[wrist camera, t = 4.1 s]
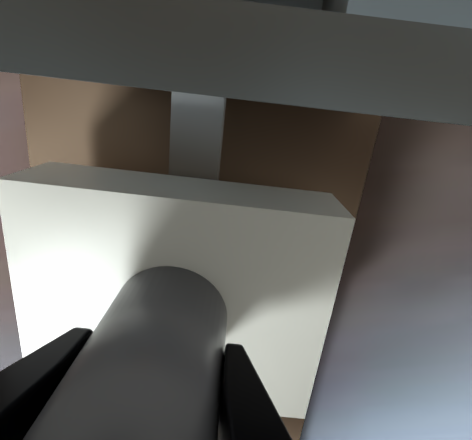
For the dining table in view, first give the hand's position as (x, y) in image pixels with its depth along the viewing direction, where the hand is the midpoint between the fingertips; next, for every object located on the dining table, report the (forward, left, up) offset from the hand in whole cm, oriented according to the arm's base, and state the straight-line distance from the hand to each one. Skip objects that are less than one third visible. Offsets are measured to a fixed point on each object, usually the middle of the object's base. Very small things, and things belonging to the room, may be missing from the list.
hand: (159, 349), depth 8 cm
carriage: (0, 0, -4) cm, 4 cm away
